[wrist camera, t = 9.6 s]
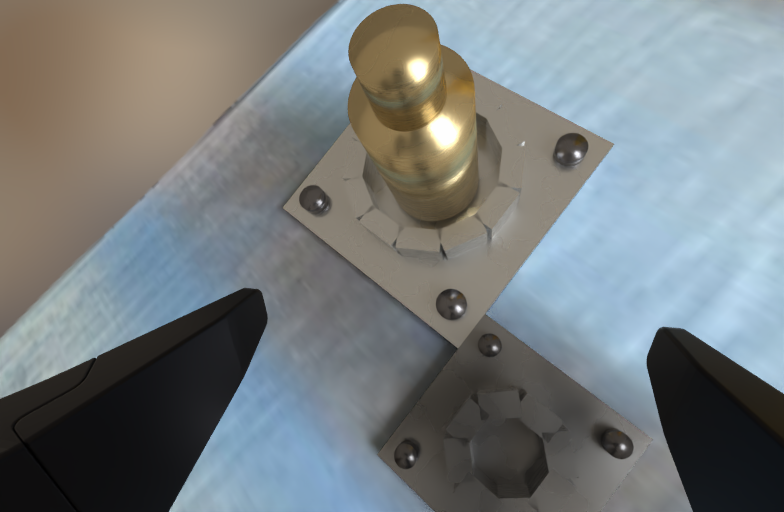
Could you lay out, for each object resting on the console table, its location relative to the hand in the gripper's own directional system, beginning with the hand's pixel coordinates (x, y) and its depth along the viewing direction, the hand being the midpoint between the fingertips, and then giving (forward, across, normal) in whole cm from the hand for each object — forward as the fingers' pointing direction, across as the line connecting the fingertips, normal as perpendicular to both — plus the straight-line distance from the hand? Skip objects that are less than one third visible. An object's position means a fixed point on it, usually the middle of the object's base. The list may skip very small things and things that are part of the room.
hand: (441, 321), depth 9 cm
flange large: (+13, +1, +1) cm, 13 cm away
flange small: (+4, -3, +10) cm, 11 cm away
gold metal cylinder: (+12, +1, +1) cm, 12 cm away
